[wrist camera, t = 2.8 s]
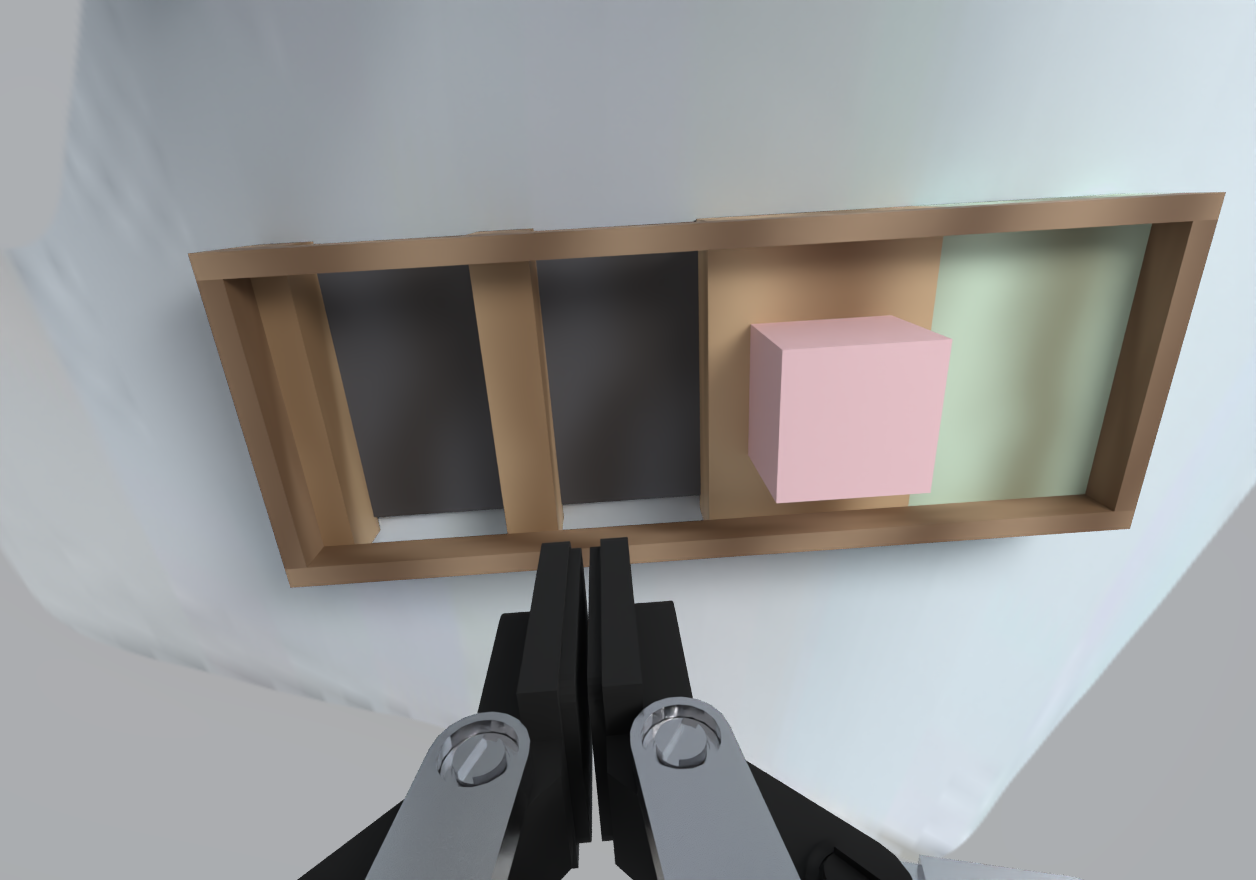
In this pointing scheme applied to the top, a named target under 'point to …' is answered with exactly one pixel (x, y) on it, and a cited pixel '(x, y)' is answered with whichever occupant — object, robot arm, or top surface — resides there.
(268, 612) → the top surface
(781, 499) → the rose block
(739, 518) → the box
